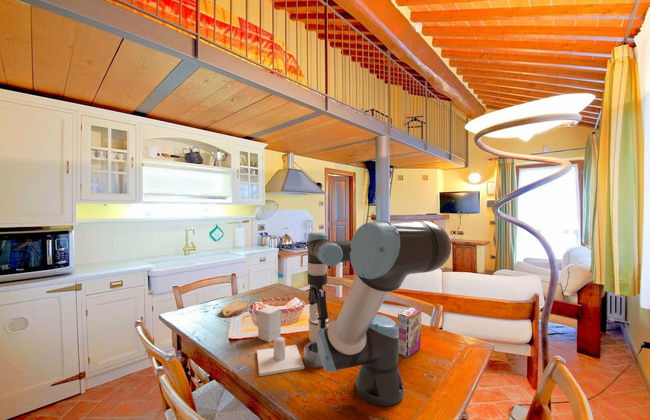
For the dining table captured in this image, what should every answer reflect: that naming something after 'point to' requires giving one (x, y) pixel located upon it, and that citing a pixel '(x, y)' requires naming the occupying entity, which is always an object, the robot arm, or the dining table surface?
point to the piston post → (279, 358)
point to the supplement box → (269, 323)
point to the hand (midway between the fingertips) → (317, 328)
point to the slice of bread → (234, 309)
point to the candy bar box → (409, 331)
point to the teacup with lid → (315, 328)
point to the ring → (312, 355)
